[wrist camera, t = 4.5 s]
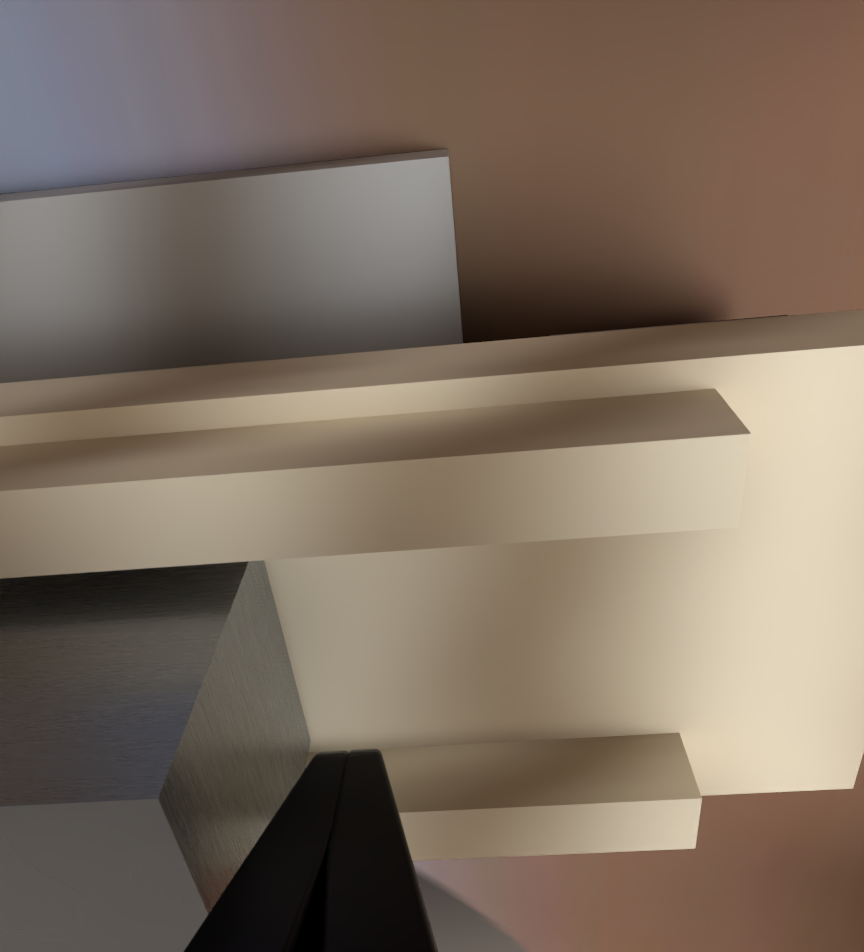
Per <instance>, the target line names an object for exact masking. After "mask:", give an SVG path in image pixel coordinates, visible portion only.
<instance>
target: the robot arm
mask: <svg viewBox="0 0 864 952" xmlns="http://www.w3.org/2000/svg"><path fill="white" fill-rule="evenodd" d="M184 952H438V949H437V946H436V942H435V939H434V935H433V932H432V928H431V924H430V921H429V917H428V914H427V910H426V907H425V903H424V900H423V896H422V893H421V889H420V886H419V882H418V879H417V875H416V872H415V868H414V865H413V861H412V858H411V854H410V851H409V847H408V843H407V840H406V836H405V833H404V829H403V826H402V822H401V819H400V815H399V812H398V808H397V805H396V801H395V798H394V794H393V791H392V787H391V784H390V780H389V777H388V773H387V770H386V766H385V763H384V759H383V756H382V753H381V751H380V750H379V749H376V748H375V749H357V750H351V751H349V752H348V751H345V750H340V751H323V752H319V753H317V754H316V755H315V756H314V757H313V758H312V759H311V761H310V762H309V764H308V765H307V767H306V768H305V770H304V771H303V773H302V774H301V776H300V777H299V779H298V780H297V782H296V783H295V785H294V786H293V788H292V789H291V791H290V792H289V794H288V795H287V797H286V798H285V800H284V801H283V803H282V804H281V806H280V807H279V809H278V810H277V812H276V813H275V815H274V816H273V818H272V819H271V821H270V822H269V824H268V825H267V827H266V828H265V830H264V831H263V833H262V834H261V836H260V837H259V839H258V840H257V842H256V843H255V845H254V846H253V848H252V849H251V851H250V852H249V854H248V855H247V857H246V858H245V860H244V861H243V863H242V864H241V866H240V867H239V869H238V870H237V872H236V874H235V875H234V877H233V878H232V880H231V881H230V883H229V884H228V886H227V887H226V889H225V890H224V892H223V893H222V895H221V896H220V898H219V899H218V901H217V902H216V904H215V905H214V907H213V908H212V910H211V911H210V913H209V914H208V916H207V917H206V919H205V920H204V922H203V923H202V925H201V926H200V928H199V929H198V931H197V932H196V934H195V935H194V937H193V938H192V940H191V941H190V943H189V944H188V946H187V947H186V949H185V950H184Z"/></svg>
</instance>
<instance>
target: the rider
mask: <svg viewBox="0 0 864 952" xmlns="http://www.w3.org/2000/svg"><path fill="white" fill-rule="evenodd" d="M310 741H311V740H310V736H309V732H308V728H307V724H306V720H305V716H304V713H303V709H302V705H301V701H300V697H299V693H298V689H297V686H296V682H295V678H294V674H293V670H292V666H291V662H290V659H289V655H288V651H287V647H286V643H285V639H284V635H283V632H282V628H281V624H280V620H279V616H278V612H277V608H276V605H275V601H274V597H273V593H272V589H271V585H270V581H269V578H268V574H267V570H266V566H265V562H264V560H261V561H246V562H232V563H217V564H203V565H188V566H174V567H159V568H145V569H131V570H116V571H102V572H87V573H73V574H58V575H44V576H29V577H15V578H1V579H0V952H184V950H185V949H186V947H187V946H188V944H189V943H190V941H191V940H192V938H193V937H194V935H195V934H196V932H197V931H198V929H199V928H200V926H201V925H202V923H203V922H204V920H205V919H206V917H207V916H208V914H209V913H210V911H211V910H212V908H213V907H214V905H215V904H216V902H217V901H218V899H219V898H220V896H221V895H222V893H223V892H224V890H225V889H226V887H227V886H228V884H229V883H230V881H231V880H232V878H233V877H234V875H235V874H236V872H237V870H238V869H239V867H240V866H241V864H242V863H243V861H244V860H245V858H246V857H247V855H248V854H249V852H250V851H251V849H252V848H253V846H254V845H255V843H256V842H257V840H258V839H259V837H260V836H261V834H262V833H263V831H264V830H265V828H266V827H267V825H268V824H269V822H270V821H271V819H272V818H273V816H274V815H275V813H276V812H277V810H278V809H279V807H280V806H281V804H282V803H283V801H284V800H285V798H286V797H287V795H288V794H289V792H290V791H291V789H292V788H293V786H294V785H295V783H296V782H297V780H298V779H299V777H300V776H301V774H302V773H303V771H304V770H305V767H306V762H307V757H308V752H309V746H310Z"/></svg>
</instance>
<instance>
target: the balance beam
mask: <svg viewBox="0 0 864 952" xmlns="http://www.w3.org/2000/svg"><path fill="white" fill-rule="evenodd" d="M261 560H264V562H265V566H266V570H267V574H268V578H269V581H270V585H271V589H272V593H273V597H274V601H275V605H276V608H277V612H278V616H279V620H280V624H281V628H282V632H283V635H284V639H285V643H286V647H287V651H288V655H289V659H290V662H291V666H292V670H293V674H294V678H295V682H296V686H297V689H298V693H299V697H300V701H301V705H302V709H303V713H304V716H305V720H306V724H307V728H308V732H309V736H310V740H311V741H310V746H309V752H308V757H307V762H306V767H307V765H308V764H309V762H310V761H311V759H312V758H313V757H314V756H315V755H316V754H317V753H319V752H323V751H340V750H345V751H348V752H349V751H351V750H357V749H375V748H376V749H379V750H380V751H381V753H382V756H383V759H384V763H385V766H386V770H387V773H388V777H389V780H390V784H391V787H392V791H393V794H394V798H395V801H396V805H397V808H398V812H399V815H400V819H401V822H402V826H403V829H404V833H405V836H406V840H407V843H408V847H409V851H410V854H411V858H412V861H419V860H442V859H465V858H488V857H511V856H534V855H557V854H580V853H603V852H626V851H649V850H672V849H695V847H696V839H697V832H698V824H699V817H700V810H701V802H702V797H701V796H705V795H726V794H746V793H767V792H788V791H809V790H830V789H851V788H853V787H854V783H855V780H856V776H857V773H858V769H859V766H860V763H861V759H862V756H863V752H864V309H860V310H849V311H837V312H825V313H814V314H802V315H790V316H788V315H780V316H768V317H756V318H745V319H733V320H721V321H710V322H698V323H687V324H675V325H663V326H652V327H640V328H628V329H617V330H605V331H594V332H582V333H570V334H559V335H550V336H546V337H534V338H523V339H511V340H500V341H488V342H476V343H465V344H463V336H462V323H461V310H460V297H459V284H458V271H457V259H456V246H455V233H454V220H453V207H452V194H451V182H450V169H449V156H448V149H441V150H431V151H421V152H411V153H402V154H392V155H382V156H372V157H362V158H353V159H343V160H333V161H323V162H313V163H304V164H294V165H284V166H274V167H265V168H255V169H245V170H235V171H225V172H216V173H206V174H196V175H186V176H176V177H167V178H157V179H147V180H137V181H127V182H118V183H108V184H98V185H88V186H78V187H69V188H59V189H49V190H39V191H29V192H20V193H10V194H0V579H1V578H15V577H29V576H44V575H58V574H73V573H87V572H102V571H116V570H131V569H145V568H159V567H174V566H188V565H203V564H217V563H232V562H246V561H261ZM306 767H305V768H306Z"/></svg>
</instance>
